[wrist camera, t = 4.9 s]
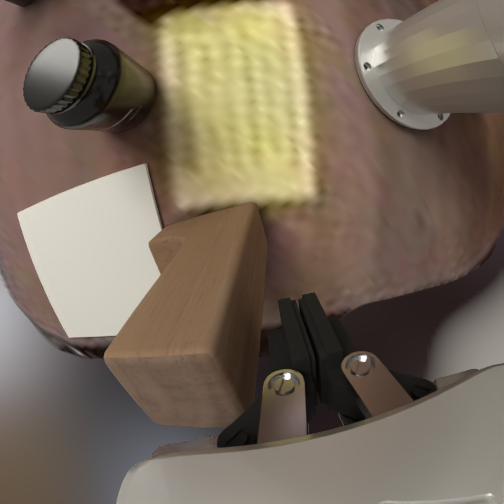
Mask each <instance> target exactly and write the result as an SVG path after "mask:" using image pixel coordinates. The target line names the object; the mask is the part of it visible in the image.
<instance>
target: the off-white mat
mask: <svg viewBox="0 0 504 504" xmlns="http://www.w3.org/2000/svg"><path fill="white" fill-rule="evenodd" d="M17 215H18V218H19V222H20V225H21V229H22V232H23V235H24V238H25V241H26V244H27V247H28V250H29V253H30V255H31V258H32V261H33V263H34V266H35V268H36V271H37V273H38V276H39V278H40V281H41V283H42V285H43V287H44V290H45V292H46V294H47V296H48V298H49V301H50V303H51V305H52V307H53V309H54V311H55V313H56V315H57V317H58V319H59V321H60V322H61V324H62V326H63V328H64V330H65V332H66V333H67V335H68V337H98V336H116V335H117V334H118V333H119V331H120V330H121V328H122V327H123V325H124V324H125V323H126V321H127V320H128V318H129V317H130V316H131V314H132V313H133V311H134V310H135V309H136V307H137V306H138V305H139V303H140V302H141V300H142V299H143V298H144V296H145V295H146V294H147V292H148V291H149V290H150V288H151V287H152V286H153V284H154V283H155V282H156V280H157V279H158V278H159V276H160V275H161V274H160V272H159V270H158V267H157V265H156V263H155V260H154V258H153V255H152V253H151V251H150V248H149V244H148V243H149V241H150V240H151V239H153V238H154V237H155V236H156V235H157V234H158V233H159V232H160V231H162V230H163V227H162V223H161V219H160V216H159V212H158V208H157V204H156V200H155V196H154V192H153V188H152V184H151V179H150V175H149V171H148V166H147V163H145V164H142V165H138V166H135V167H132V168H129V169H126V170H122V171H119V172H116V173H113V174H110V175H108V176H105V177H102V178H99V179H96V180H93V181H91V182H88V183H85V184H83V185H80V186H78V187H75V188H73V189H70V190H68V191H65V192H63V193H60V194H58V195H56V196H53V197H51V198H49V199H46V200H44V201H42V202H40V203H38V204H35V205H33V206H31V207H29V208H27V209H25V210H23V211H21V212H19V213H17Z"/></svg>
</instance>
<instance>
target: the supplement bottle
mask: <svg viewBox="0 0 504 504" xmlns="http://www.w3.org/2000/svg"><path fill="white" fill-rule="evenodd" d="M23 91H24V94H23V96H24V98H25V102H26V103H27V106H29V107H30V109H32V110H34V111H35V112H41V113H46V114H47V116H48V117H49V119H50V120H51V121H52V122H53V123H54V124H55V125H57V126H59V127H61V128H64V129H71V130H93V131H108V132H120V131H125V130H128V129H130V128H133V127H134V126H136V125H137V124H139V123H140V122H141V121H142V120H143V119H144V118H145V117H146V116H147V114H148V113H149V111H150V110H151V108H152V106H153V103H154V100H155V93H156V88H155V83H154V80H153V78H152V76H151V74H150V73H149V72H148V71H147V70H146V69H145V68H144V67H142V66H141V65H140V64H139V63H137V62H136V61H135V60H133V59H132V58H131V57H129V56H128V55H127V54H125V53H124V52H123V51H121V50H120V49H119V48H117V47H116V46H115V45H113V44H111V43H110V42H107V41H105V40H99V39H93V40H87V41H83V42H79V41H77V40H75V39H71V38H61V39H57V40H55V41H53V42H51V43H50V44H49V45H46V46H45V47H44V48H43V49H42V50H41V51H40V52H39V54H38V55H36V56H35V58H34V60H33V61H32V62H31V65H30V67H29V68H28V71H27V74H26V76H25V81H24V88H23Z"/></svg>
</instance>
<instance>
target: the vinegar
mask: <svg viewBox="0 0 504 504" xmlns="http://www.w3.org/2000/svg"><path fill="white" fill-rule="evenodd" d="M6 1H8V2H11V3H14V4H16V5H19V6H26V5H28V4H30V3H32V2H33V1H35V0H6Z"/></svg>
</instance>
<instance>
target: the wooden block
mask: <svg viewBox="0 0 504 504" xmlns="http://www.w3.org/2000/svg"><path fill="white" fill-rule="evenodd" d="M148 244H149V248H150V251H151V253H152V255H153V258H154V260H155V263H156V265H157V267H158V270H159V272H160V274H161V275H160V276H159V278H158V279H157V280H156V282H155V283H154V284H153V286H152V287H151V288H150V290H149V291H148V292H147V294H146V295H145V296H144V298H143V299H142V300H141V302H140V303H139V305H138V306H137V307H136V309H135V310H134V311H133V313H132V314H131V316H130V317H129V318H128V320H127V321H126V323H125V324H124V325H123V327H122V328H121V330H120V331H119V333H118V334H117V335H116V337H115V338H114V340H113V341H112V343H111V344H110V346H109V347H108V349H107V350H106V352H105V354H104V360H105V363H106V365H107V366H108V367H109V369H110V370H111V371H112V373H113V374H114V375H115V377H116V378H117V379H118V381H119V382H120V383H121V384H122V386H123V387H124V388H125V389H126V391H127V392H128V393H129V394H130V395H131V397H132V398H133V399H134V400H135V401H136V402H137V404H138V405H139V406H140V407H141V408H142V409H143V410H144V412H145V413H146V414H147V415H148V416H149V417H150V418H151V419H152V420H153V421H154V422H155V423H157V424H160V425H165V426H179V427H198V428H201V427H202V428H227V427H228V426H229V425H230V424H232V423H233V422H234V421H235V420H236V419H237V418H238V417H239V416H241V415H242V414H243V413H244V412H245V411H246V410H247V409H248V408H249V407H250V406H251V405H253V404H254V397H255V387H256V377H257V367H258V357H259V346H260V336H261V325H262V313H263V302H264V290H265V277H266V264H267V253H268V242H267V238H266V235H265V231H264V227H263V224H262V220H261V217H260V213H259V209H258V206H257V204H256V203H253V202H251V203H247V204H243V205H239V206H235V207H231V208H227V209H224V210H220V211H216V212H213V213H209V214H205V215H202V216H198V217H194V218H191V219H187V220H184V221H180V222H177V223H174V224H170V225H167V226H166V227H165V228H164V229H163V230H162V231H160V232H159V233H158V234H157V235H156V236H155V237H154V238H153V239H151V240H150V241H149V243H148Z"/></svg>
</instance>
